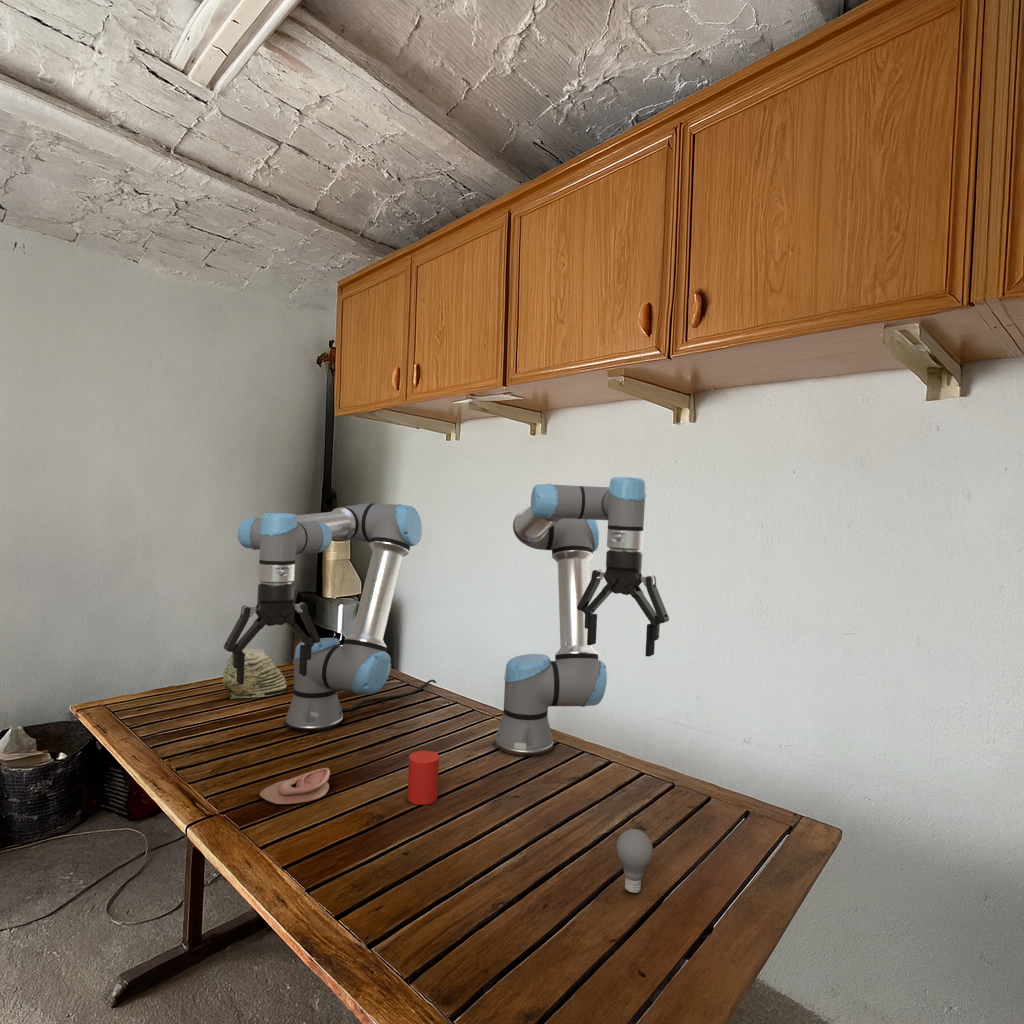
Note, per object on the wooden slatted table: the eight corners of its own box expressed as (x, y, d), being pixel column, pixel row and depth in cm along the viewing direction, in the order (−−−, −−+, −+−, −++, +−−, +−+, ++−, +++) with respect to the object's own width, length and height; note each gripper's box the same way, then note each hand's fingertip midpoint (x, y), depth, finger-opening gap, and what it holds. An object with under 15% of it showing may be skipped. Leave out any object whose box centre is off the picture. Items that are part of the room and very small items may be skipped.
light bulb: (610, 879, 108) (613, 822, 108) (644, 879, 109) (647, 822, 109) (619, 902, 102) (622, 840, 102) (655, 901, 103) (658, 840, 103)
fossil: (218, 695, 195) (220, 647, 195) (278, 685, 208) (279, 640, 207) (228, 703, 189) (230, 653, 188) (289, 692, 201) (290, 645, 201)
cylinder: (424, 788, 140) (425, 748, 140) (443, 798, 136) (445, 756, 135) (401, 797, 135) (402, 756, 135) (420, 808, 131) (422, 765, 131)
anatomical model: (251, 781, 130) (282, 759, 142) (250, 800, 131) (281, 776, 142) (310, 789, 128) (337, 767, 139) (309, 809, 128) (336, 784, 139)
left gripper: (220, 587, 129) (216, 691, 129) (337, 582, 145) (333, 675, 145) (211, 582, 135) (207, 681, 135) (324, 578, 150) (320, 667, 151)
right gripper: (564, 546, 138) (560, 642, 139) (674, 556, 124) (669, 663, 124) (581, 545, 145) (577, 637, 145) (687, 554, 130) (682, 657, 131)
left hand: (272, 678), depth 140 cm, fingers open, 13 cm apart
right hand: (619, 649), depth 135 cm, fingers open, 13 cm apart
